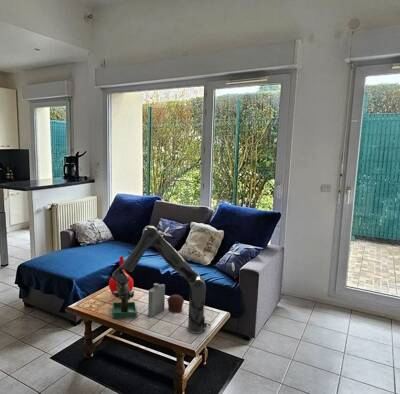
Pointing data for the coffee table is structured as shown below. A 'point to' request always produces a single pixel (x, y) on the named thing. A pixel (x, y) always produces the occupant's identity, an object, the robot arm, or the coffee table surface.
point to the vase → (113, 283)
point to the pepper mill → (124, 304)
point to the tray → (118, 314)
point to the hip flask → (156, 299)
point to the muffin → (175, 303)
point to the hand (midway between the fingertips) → (124, 298)
